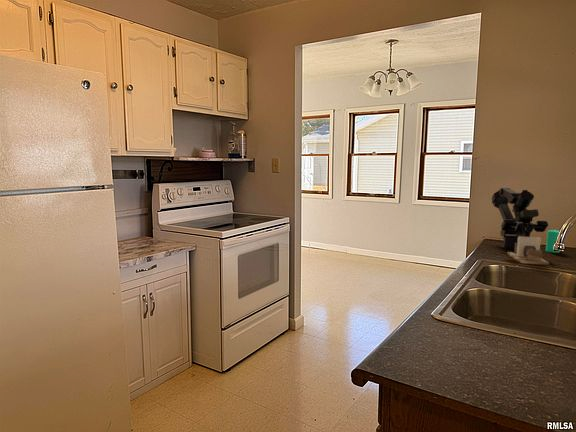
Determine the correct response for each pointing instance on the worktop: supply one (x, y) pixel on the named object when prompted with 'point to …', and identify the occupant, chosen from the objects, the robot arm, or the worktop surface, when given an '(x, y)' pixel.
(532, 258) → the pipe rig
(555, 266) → the worktop surface
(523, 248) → the sleeve
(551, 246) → the candle
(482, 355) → the worktop surface
